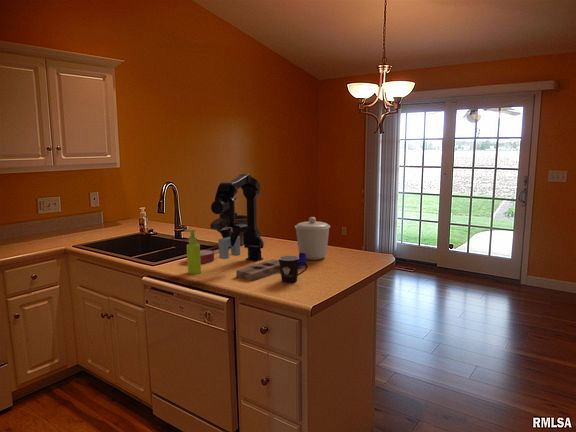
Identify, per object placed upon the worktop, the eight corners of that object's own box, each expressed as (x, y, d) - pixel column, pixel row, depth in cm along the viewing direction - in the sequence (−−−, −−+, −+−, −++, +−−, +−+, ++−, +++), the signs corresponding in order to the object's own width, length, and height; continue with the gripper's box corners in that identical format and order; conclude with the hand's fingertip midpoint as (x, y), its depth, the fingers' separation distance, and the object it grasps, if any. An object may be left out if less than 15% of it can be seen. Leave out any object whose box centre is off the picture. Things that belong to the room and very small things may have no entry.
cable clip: (292, 271, 198) (292, 259, 197) (285, 270, 201) (284, 257, 200) (308, 266, 207) (308, 253, 206) (301, 264, 210) (300, 252, 209)
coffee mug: (275, 281, 184) (274, 258, 182) (289, 276, 190) (289, 254, 188) (294, 286, 176) (294, 262, 174) (309, 282, 182) (308, 258, 180)
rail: (236, 276, 191) (236, 270, 191) (272, 265, 209) (272, 259, 209) (252, 280, 185) (252, 274, 184) (288, 268, 203) (288, 262, 203)
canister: (325, 263, 211) (325, 220, 208) (290, 260, 217) (289, 219, 214) (334, 254, 228) (334, 214, 225) (301, 252, 234) (300, 213, 231)
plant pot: (258, 243, 259) (257, 216, 256) (236, 248, 248) (235, 220, 245) (241, 239, 271) (240, 214, 268) (219, 243, 260) (218, 217, 257)
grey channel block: (219, 258, 192) (218, 239, 191) (235, 253, 200) (234, 235, 199) (224, 259, 190) (223, 240, 189) (240, 254, 198) (240, 236, 197)
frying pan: (230, 249, 244) (229, 238, 243) (246, 253, 235) (246, 241, 235) (182, 261, 220) (182, 249, 219) (199, 265, 211) (198, 252, 210)
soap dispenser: (184, 271, 200) (182, 229, 197) (199, 270, 203) (197, 228, 200) (186, 275, 195) (184, 231, 192) (202, 273, 197) (199, 230, 194)
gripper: (200, 211, 192) (201, 246, 194) (229, 215, 180) (230, 251, 182) (219, 208, 200) (220, 241, 203) (248, 211, 188) (249, 247, 191)
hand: (229, 245), depth 194 cm, fingers closed on grey channel block, 3 cm apart
